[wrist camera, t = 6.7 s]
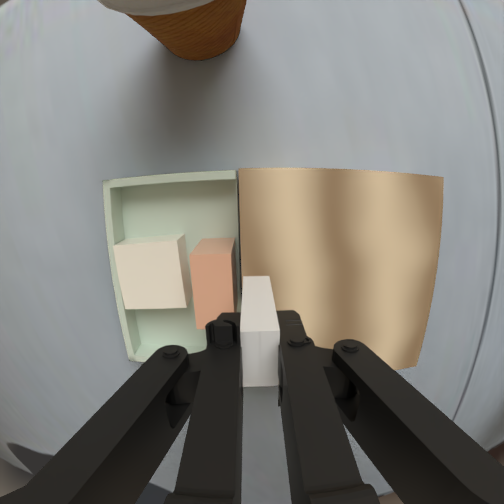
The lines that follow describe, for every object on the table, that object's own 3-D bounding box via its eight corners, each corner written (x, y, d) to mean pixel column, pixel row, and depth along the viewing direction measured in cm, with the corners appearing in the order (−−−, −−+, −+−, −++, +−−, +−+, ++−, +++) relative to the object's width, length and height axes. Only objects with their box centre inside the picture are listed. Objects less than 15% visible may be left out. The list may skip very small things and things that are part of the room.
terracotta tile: (230, 253, 18) (189, 254, 18) (234, 328, 19) (196, 329, 19) (235, 237, 23) (202, 238, 23) (237, 299, 24) (206, 299, 24)
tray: (237, 171, 22) (235, 170, 19) (243, 349, 25) (242, 365, 23) (116, 179, 22) (102, 180, 19) (138, 346, 25) (129, 360, 23)
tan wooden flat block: (410, 175, 22) (443, 177, 17) (393, 337, 25) (416, 366, 21) (241, 171, 22) (238, 168, 17) (246, 349, 25) (245, 384, 21)
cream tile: (112, 245, 20) (125, 238, 22) (125, 309, 21) (136, 297, 24) (176, 240, 20) (184, 233, 22) (186, 307, 21) (192, 295, 24)
